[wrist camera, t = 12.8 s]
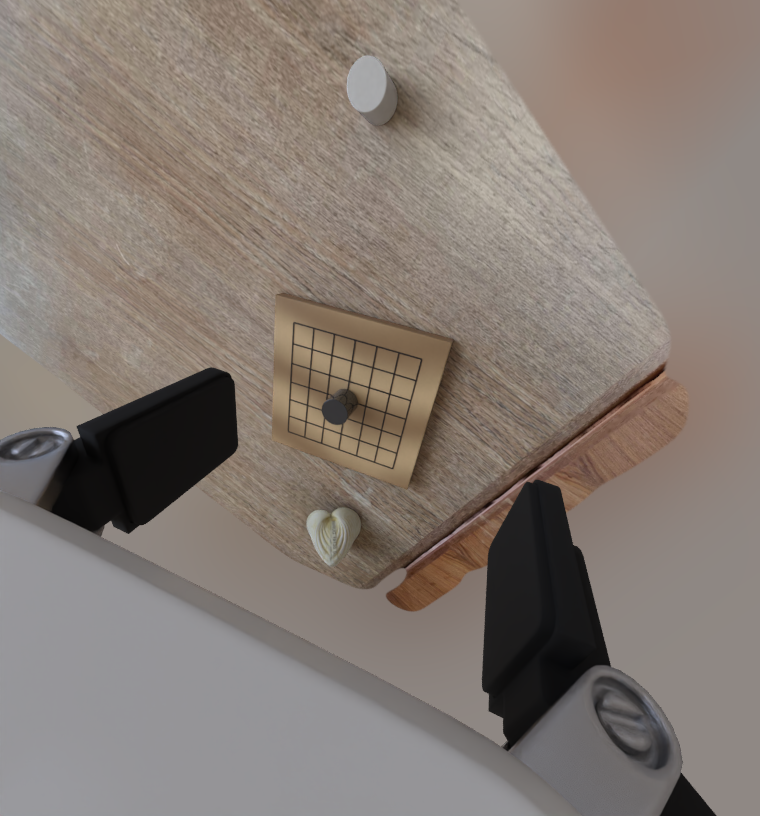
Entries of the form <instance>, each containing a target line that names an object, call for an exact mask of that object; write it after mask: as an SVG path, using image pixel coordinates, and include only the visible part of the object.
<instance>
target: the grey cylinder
mask: <svg viewBox="0 0 760 816" xmlns="http://www.w3.org/2000/svg"><path fill="white" fill-rule="evenodd" d="M347 93H348V97H349V100H350V102H351V104H352V106H353V107H354V108H355V109H356V110H357V111H358V112H359V113H360V114H361V115H362V116H363V117H364V118H365V119H366V120H367V121H368V122H369V123H371V124H373V125H383V124H385V123H386V122H388V121H389V120H390V119H391V117H392V116H393V114H394V112H395V110H396V107H397V101H398V95H397V89H396V86H395V84H394V82H393V80H392V79H391V77H390V76H389V74H388V72H387V71H386V69H385V67H384V66H383V64H382V63H381V61H380V60H379V59H377V58H376V57H374V56H363V57H361V58H359V59H358V60H357V61H356V62H355V63H354V64H353V66H352V68H351V70H350V72H349V75H348V79H347Z"/></svg>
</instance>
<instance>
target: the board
mask: <svg viewBox="0 0 760 816" xmlns="http://www.w3.org/2000/svg"><path fill="white" fill-rule="evenodd" d="M452 343H453V339H451V338H447V337H443V336H439V335H436V334H432V333H428V332H425V331H421V330H417V329H414V328H410V327H406V326H403V325H399V324H395V323H392V322H388V321H384V320H380V319H377V318H373V317H369V316H366V315H362V314H358V313H355V312H351V311H347V310H344V309H340V308H336V307H333V306H329V305H325V304H321V303H318V302H314V301H310V300H307V299H303V298H299V297H296V296H292V295H288V294H285V293H281V294H276V295H275V334H274V375H273V417H272V440H273V441H276V442H278V443H281V444H284V445H286V446H289V447H292V448H295V449H297V450H300V451H303V452H306V453H308V454H311V455H314V456H316V457H319V458H322V459H325V460H327V461H330V462H333V463H336V464H338V465H341V466H344V467H347V468H349V469H352V470H355V471H357V472H360V473H363V474H366V475H368V476H371V477H374V478H377V479H379V480H382V481H385V482H388V483H390V484H393V485H396V486H398V487H401V488H404V489H408V486H409V483H410V480H411V477H412V474H413V470H414V467H415V464H416V461H417V457H418V454H419V451H420V448H421V444H422V441H423V438H424V435H425V431H426V428H427V425H428V422H429V418H430V415H431V412H432V408H433V405H434V402H435V399H436V395H437V392H438V389H439V386H440V382H441V379H442V376H443V373H444V369H445V366H446V363H447V360H448V356H449V353H450V350H451V346H452ZM339 389H348V390H350V391H352V392H353V393H354V394H355V395H356V397H357V400H358V407H357V409H356V410H355V411H354V412H353V414H352V415H351V416H350V417H349V418H348V419H347V421H346V422H345V423H343V424H341V425H334V424H331V423H329V422H328V421H327V420H326V419H325V418H324V416H323V414H322V405H323V403H324V402H325V401H326V400H327V399H328V398H330V397H331V396H332V395H333V394H334V393H335V392H336V391H337V390H339Z"/></svg>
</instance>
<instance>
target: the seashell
mask: <svg viewBox="0 0 760 816" xmlns="http://www.w3.org/2000/svg"><path fill="white" fill-rule="evenodd" d="M307 529H308V532H309V534H310V535H311V538H312V542H313V544H314V546H315V549H316V550H317V552H318V554H319V555H320V557H321V558H322V559H323V560H324V562H326V563H327V564H328V565H329V566H336V565H337V564H338V563H340V562H341V560H342V559H343V558H344V557H345V556H346V554H347V553H348V551H349V550H350V548H351V545H352V544H353V543H354V540H355V539H356V538H357V536H358V535H359V533H360V529H361V521H360V518H359V516H358V514H357V513H356V512H354V511H353V510H352V509H349V508H345V507H343V508H338V509H336V510H334V511H333V512H332V514H329V513H328V512H327V511H325V510H316V511H314V512H312V513H311V514H310V515H309V516H308V519H307Z"/></svg>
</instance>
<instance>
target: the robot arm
mask: <svg viewBox="0 0 760 816" xmlns="http://www.w3.org/2000/svg"><path fill="white" fill-rule="evenodd" d="M77 429H78V431H79V434H80V438H78V439H76V440H73V437H72V435H71V433H70V432H69V431H67V430H65V429H61V428H56V427H43V428H34V429H30V430H25V431H21V432H18V433H15V434H13V435H10V436H7V437H5V438H3V439H2V440H0V816H716V815H715V814H714V812H713V811H712V810H711V809H710V807H709V806H708V805H707V804H706V802H705V801H704V800H703V799H702V798H701V796H700V795H699V794H698V793H697V791H696V790H695V789H694V788H693V787H692V786H691V784H690V783H689V782H688V781H687V779H686V778H685V777H684V776H683V774H682V773H681V768H682V763H683V761H682V756H681V749H680V744H679V742H678V739H677V737H676V734H675V732H674V729H673V727H672V725H671V723H670V722H669V721H668V718H667V717H666V715H665V714H664V712H663V710H662V709H661V707H660V706H659V705H658V704H657V703H656V701H655V700H654V699H653V698H652V697H651V695H650V694H649V693H648V692H647V691H646V690H645V689H644V688H643V687H642V686H640V685H639V684H638V683H637V682H636V681H635V680H634V679H633V678H631V677H630V676H628V675H626V674H625V673H623V672H622V671H620V670H618V669H615V668H612V667H611V665H610V661H609V657H608V653H607V649H606V645H605V641H604V637H603V633H602V629H601V625H600V621H599V617H598V613H597V609H596V605H595V601H594V597H593V593H592V589H591V585H590V581H589V578H588V573H587V569H586V565H585V561H584V557H583V554H582V552H581V550H580V549H579V548H578V547H577V546H574V545H573V542H572V538H571V533H570V529H569V524H568V520H567V516H566V511H565V507H564V502H563V498H562V494H561V490H560V488H559V487H558V486H555V485H552V484H549V483H546V482H543V481H540V480H535V481H534V482H533V483H530V482H526V483H525V485H524V486H523V488H522V490H521V492H520V493H519V495H518V497H517V499H516V500H515V502H514V504H513V506H512V508H511V509H510V511H509V513H508V515H507V517H506V518H505V520H504V522H503V524H502V526H501V527H500V529H499V531H498V533H497V534H496V536H495V538H494V540H493V542H492V544H491V546H490V549H489V553H488V567H487V569H488V570H487V588H486V589H487V591H486V609H485V610H486V611H485V630H484V631H485V632H484V650H483V671H482V688H483V691H484V692H487V693H489V711H490V712H492V713H494V714H496V715H498V716H500V717H502V718H503V733H504V735H505V737H506V738H507V741H506V742H505V743H504V744H503V745H502V746H499V745H498V744H496V743H495V742H493V741H492V740H490V739H488V738H487V737H485V736H483V735H482V734H480V733H478V732H476V731H475V730H473V729H472V728H470V727H468V726H467V725H465V724H463V723H462V722H460V721H458V720H457V719H455V718H453V717H452V716H450V715H448V714H446V713H444V712H442V711H440V710H439V709H437V708H435V707H433V706H431V705H429V704H427V703H425V702H424V701H422V700H420V699H418V698H416V697H414V696H412V695H410V694H408V693H407V692H405V691H403V690H401V689H399V688H397V687H395V686H394V685H392V684H390V683H388V682H386V681H384V680H382V679H380V678H378V677H377V676H375V675H373V674H371V673H369V672H367V671H365V670H363V669H361V668H359V667H357V666H355V665H354V664H352V663H350V662H348V661H346V660H344V659H342V658H340V657H338V656H336V655H334V654H332V653H330V652H328V651H326V650H324V649H322V648H320V647H318V646H316V645H314V644H312V643H310V642H309V641H307V640H305V639H303V638H301V637H299V636H297V635H295V634H293V633H291V632H289V631H287V630H285V629H283V628H281V627H279V626H277V625H275V624H273V623H271V622H269V621H267V620H265V619H263V618H262V617H260V616H257V615H256V614H254V613H252V612H250V611H248V610H246V609H244V608H242V607H240V606H238V605H236V604H233V603H232V602H230V601H228V600H226V599H224V598H222V597H220V596H218V595H216V594H214V593H212V592H210V591H208V590H206V589H204V588H202V587H200V586H198V585H196V584H194V583H192V582H190V581H188V580H186V579H184V578H182V577H180V576H178V575H176V574H174V573H172V572H170V571H168V570H166V569H164V568H162V567H160V566H158V565H156V564H154V563H152V562H150V561H148V560H146V559H144V558H142V557H140V556H138V555H136V554H134V553H132V552H130V551H128V550H126V549H124V548H122V547H120V546H118V545H116V544H114V543H112V542H110V541H108V540H106V539H104V538H102V537H101V535H102V532H103V529H104V525H105V524H107V523H108V522H109V521H112V524H113V526H114V527H116V528H117V529H120V530H122V531H124V532H126V533H128V534H129V533H130V532H132V531H133V530H134V529H135V528H137V527H138V526H139V525H144V524H146V523H147V522H149V521H150V520H152V519H153V518H154V517H155V516H156V515H158V514H159V513H160V512H161V511H163V510H164V509H165V508H166V507H168V506H169V505H170V504H171V503H172V502H174V501H175V500H176V499H178V498H179V497H180V496H181V495H183V494H184V493H185V492H186V491H188V490H189V489H190V488H191V487H193V486H194V485H195V484H196V483H198V482H199V481H200V480H201V479H203V478H204V477H205V476H206V475H208V474H209V473H210V472H211V471H213V470H214V469H215V468H216V467H218V466H219V465H220V464H221V463H223V462H224V461H225V460H226V459H228V458H229V457H230V456H231V455H233V454H234V453H235V451H236V449H237V447H238V435H237V418H236V401H235V384H234V381H233V379H232V378H231V375H230V374H229V373H227V372H224V371H221V370H219V369H216V368H207V369H205V370H203V371H201V372H198V373H196V374H194V375H192V376H189V377H187V378H185V379H182V380H180V381H178V382H176V383H173V384H171V385H169V386H167V387H164V388H162V389H160V390H158V391H155V392H153V393H151V394H149V395H146V396H144V397H142V398H139V399H137V400H135V401H133V402H130V403H128V404H126V405H124V406H121V407H119V408H117V409H115V410H112V411H110V412H108V413H106V414H103V415H101V416H99V417H97V418H94V419H92V420H90V421H87V422H85V423H83V424H81V425H78V426H77Z"/></svg>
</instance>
